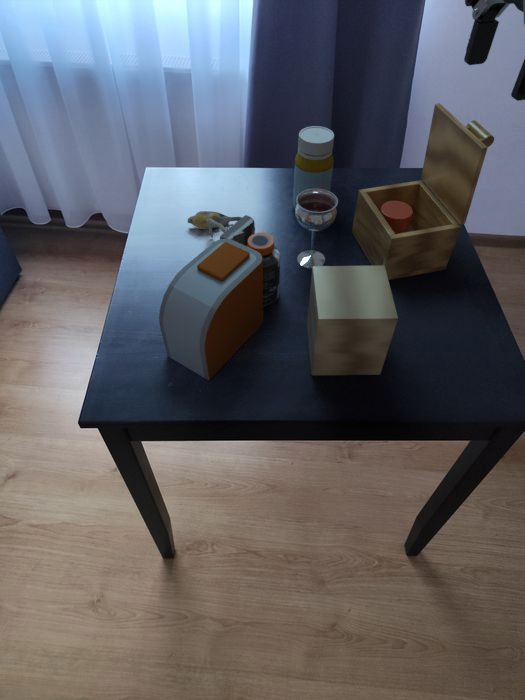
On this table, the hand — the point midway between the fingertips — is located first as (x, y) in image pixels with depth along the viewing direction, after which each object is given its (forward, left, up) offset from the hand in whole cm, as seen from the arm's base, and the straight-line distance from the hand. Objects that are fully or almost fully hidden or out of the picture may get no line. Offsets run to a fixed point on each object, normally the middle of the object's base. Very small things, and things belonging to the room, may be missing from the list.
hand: (496, 79), depth 47 cm
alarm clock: (+26, +15, -36) cm, 47 cm away
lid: (+3, -20, -20) cm, 29 cm away
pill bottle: (+24, +4, -36) cm, 44 cm away
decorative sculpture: (+36, -6, -36) cm, 51 cm away
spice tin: (+8, -16, -35) cm, 39 cm away
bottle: (+26, -22, -36) cm, 50 cm away
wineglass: (+20, -8, -36) cm, 42 cm away
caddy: (+7, -17, -36) cm, 41 cm away
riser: (+8, +9, -36) cm, 38 cm away
